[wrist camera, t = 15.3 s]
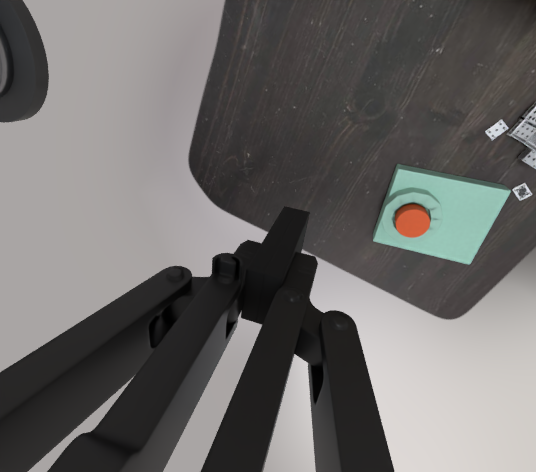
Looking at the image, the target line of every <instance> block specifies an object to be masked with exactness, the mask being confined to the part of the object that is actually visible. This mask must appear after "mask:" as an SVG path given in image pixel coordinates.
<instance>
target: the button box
mask: <svg viewBox="0 0 536 472" xmlns="http://www.w3.org/2000/svg"><path fill="white" fill-rule="evenodd" d="M510 192H511V191H510V190H509V189H508V188H507V187H506V186H505V185H502V184H497V183H492V182H487V181H482V180H477V179H472V178H467V177H462V176H457V175H451V174H446V173H441V172H436V171H431V170H426V169H421V168H416V167H411V166H406V165H401V164H397V165H396V168H395V171H394V174H393V177H392V180H391V183H390V186H389V189H388V191H387V194H386V197H385V200H384V203H383V206H382V209H381V212H380V215H379V218H378V221H377V223H376V226H375V229H374V232H373V241H374V242H379V243H383V244H387V245H391V246H395V247H399V248H403V249H407V250H411V251H416V252H420V253H424V254H428V255H432V256H436V257H440V258H444V259H448V260H452V261H457V262H461V263H465V264H469V265H470V263H471V262H472V260H473V258H474V256H475V254H476V253H477V251H478V249H479V247H480V246H481V244H482V242H483V240H484V238H485V237H486V235H487V233H488V231H489V230H490V228H491V226H492V224H493V222H494V221H495V219H496V217H497V215H498V214H499V212H500V210H501V208H502V206H503V205H504V203H505V201H506V199H507V198H508V196H509V194H510ZM408 204H417V205H420V206H422V207H423V208H425V210H426V211H427V213H428V216H429V218H430V226H429V229H428V230H427V231H426V232H425V233H424V234H423V235H421V236H419V237H414V238H409V237H405V236H403V235H401V234H400V233H399V232H398V231H397V229H396V224H395V215H396V213H397V211H398V210H399V209H400V208H401V207H403V206H405V205H408Z"/></svg>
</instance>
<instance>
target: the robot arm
mask: <svg viewBox="0 0 536 472" xmlns="http://www.w3.org/2000/svg"><path fill="white" fill-rule="evenodd" d="M13 75H14V65H13V58H12V53H11V49H10V46H9V43H8V40H7V38H6V35H5V33H4V31H3V29H2V27H1V25H0V97H1V96H3V95H5V94H6V93H7V92H8V90H9V89H10V87H11V85H12V81H13ZM309 214H310V212H307V211H302V210H298V209H294V208H290V207H285V206H284V208H283V210H282V211H281V213H280V214H279V216H278V218H277V219H276V221H275V223H274V224H273V226H272V228H271V229H270V231H269V233H268V234H267V236H266V237H265V239H264V241H263V242H262V243H258V242H254V241H250V240H247V241H245V242H243V243H242V244H240V246H239V247H238V248H237V250H236V252H235V253H234V254H230V253H221V254H218V255H216V256H215V257H213V260H212V274H211V276H210V277H192V274H191V271H190V270H189V269H187V268H185V267H182V266H172V267H168V268H166V269H164V270H162V271H160V272H159V273H157V274H156V275H154V276H152V277H151V278H149V279H148V280H146V281H145V282H143V283H141V284H140V285H138V286H137V287H135V288H133V289H132V290H130V291H129V292H127V293H125V294H124V295H122V296H121V297H119V298H118V299H116V300H115V301H113V302H111V303H110V304H108V305H107V306H105V307H103V308H102V309H100V310H99V311H97V312H95V313H94V314H92V315H91V316H89V317H87V318H86V319H84V320H83V321H81V322H80V323H78V324H76V325H75V326H73V327H72V328H70V329H68V330H67V331H65V332H64V333H62V334H60V335H59V336H57V337H56V338H54V339H53V340H51V341H49V342H48V343H46V344H45V345H43V346H41V347H40V348H38V349H37V350H35V351H33V352H32V353H30V354H29V355H27V356H26V357H24V358H23V359H21V360H19V361H18V362H16V363H14V364H13V365H11V366H10V367H8V368H6V369H5V370H3V371H2V372H0V472H27V471H29V470H30V469H31V468H32V467H33V466H34V465H35V464H36V463H37V462H39V461H40V460H41V459H42V458H43V457H44V456H45V455H46V454H47V453H49V452H50V451H51V450H52V449H53V448H54V447H55V446H56V445H58V444H59V443H60V442H61V441H62V440H63V439H64V438H65V437H66V436H68V435H69V434H70V433H71V432H72V431H73V430H74V429H75V428H77V426H79V425H80V424H81V423H82V422H83V421H84V420H85V419H87V417H89V416H90V415H91V414H92V413H93V412H94V411H96V410H97V409H98V408H99V407H100V406H101V405H102V404H103V403H104V402H105V401H107V400H108V399H109V398H110V397H111V396H112V395H113V394H115V393H116V392H117V391H118V390H119V389H120V388H121V387H122V386H123V385H125V384H126V383H127V382H128V381H129V380H130V379H131V378H132V377H133V376H134V378H133V379H132V380H131V382H130V383H129V384H128V386H127V387H126V388H125V390H124V391H123V392H122V394H121V395H120V396H119V398H118V399H117V400H116V402H115V403H114V404H113V406H112V407H111V408H110V410H109V411H108V412H107V414H106V415H105V416H104V418H103V419H102V420H101V421H100V423H99V424H98V425H97V427H96V428H95V429H94V430H92V431H91V432H88V433H83V434H81V435H79V436H78V437H76V438H75V439H74V440H73V441H72V442H71V443H70V444H69V445H68V446H67V448H66V449H65V450H64V451H63V452H62V454H61V455H60V456H59V458H58V459H57V460H56V461H55V463H54V464H53V465H52V466H51V468H50V469H49V470H48V471H47V472H163V470H164V468H165V466H166V464H167V463H168V460H169V459H170V456H171V455H172V453H173V451H174V449H175V447H176V445H177V443H178V441H179V439H180V437H181V435H182V433H183V431H184V429H185V427H186V425H187V423H188V421H189V419H190V417H191V415H192V413H193V411H194V409H195V407H196V405H197V403H198V402H199V400H200V397H201V396H202V394H203V392H204V390H205V388H206V386H207V384H208V382H209V380H210V378H211V376H212V374H213V372H214V370H215V368H216V366H217V364H218V362H219V360H220V358H221V356H222V354H223V352H224V350H225V348H226V346H227V344H228V343H229V341H230V339H231V337H232V334H233V333H234V331H235V329H236V327H237V323H238V316H239V314H240V312H241V311H242V313H241V318H243V319H246V320H250V321H253V322H256V323H259V324H262V327H261V330H260V332H259V334H258V337H257V339H256V341H255V344H254V346H253V349H252V351H251V353H250V356H249V358H248V361H247V363H246V365H245V368H244V370H243V372H242V375H241V377H240V380H239V382H238V384H237V387H236V389H235V391H234V394H233V396H232V399H231V401H230V403H229V406H228V408H227V410H226V413H225V415H224V418H223V420H222V422H221V425H220V427H219V430H218V432H217V434H216V437H215V439H214V441H213V444H212V446H211V449H210V451H209V453H208V456H207V458H206V460H205V463H204V465H203V468H202V470H201V472H263V469H264V465H265V462H266V458H267V454H268V450H269V446H270V442H271V439H272V435H273V431H274V428H275V424H276V420H277V417H278V413H279V409H280V406H281V402H282V398H283V394H284V391H285V387H286V383H287V379H288V376H289V372H290V368H291V364H292V361H293V357H294V354H296V355H297V356H299V357H300V358H302V359H303V360H305V361H306V362H308V373H309V386H310V400H311V413H312V425H313V440H314V453H315V466H316V472H394V468H393V464H392V460H391V457H390V453H389V449H388V445H387V441H386V438H385V434H384V430H383V426H382V422H381V419H380V415H379V411H378V407H377V404H376V400H375V396H374V392H373V389H372V384H371V380H370V377H369V373H368V369H367V365H366V362H365V358H364V354H363V350H362V346H361V342H360V339H359V335H358V331H357V327H356V324H355V322H354V321H353V319H352V318H351V317H350V316H349V315H347V314H345V313H343V312H340V311H328V312H325V313H323V312H321V311H319V310H318V309H316V308H315V307H314V306H313V305H312V303H311V302H310V298H309V296H310V292H311V288H312V285H313V281H314V277H315V273H316V269H317V265H318V263H317V260H316V257H314V256H310V255H307V254H303V253H301V251H302V246H303V242H304V237H305V232H306V228H307V223H308V218H309Z"/></svg>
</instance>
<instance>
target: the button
mask: <svg viewBox="0 0 536 472" xmlns="http://www.w3.org/2000/svg"><path fill="white" fill-rule="evenodd" d="M395 224H396V229H397V231H398V232H399V233H400V234H401V235H403V236H405V237H409V238H414V237H419V236H421V235H423V234H424V233H425V232H426V231H427V230H428V229H429V226H430V218H429V216H428V213H427V211H426V210H425V208H423V207H422V206H420V205H417V204H408V205H405V206H403V207H401V208H400V209H399V210H398V211H397V213H396V215H395Z"/></svg>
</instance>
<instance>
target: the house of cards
mask: <svg viewBox="0 0 536 472" xmlns="http://www.w3.org/2000/svg"><path fill="white" fill-rule="evenodd" d="M521 117H523V118H525V119H524V120H522V119H520V118H519V119H520V120H519V121H518V122H517V123H516V124H515V125H514V127H513V128H512V129H511V130H510V131H509V132H508V133H507V134H506V135H508V136H510V137H511V136H512V137H514V138H516V139H517V140H519V141H521V142H523V143H524V145H526V146H528V147H530V148H531V149H530V148H527V149H526V150H525V151H524V152H522V153H521V154H520V155H519V156H518V158H519V159H521V160H522V161H523V162H525V163H527V164H528V165H530V166H532V167H533V168H535V169H536V102H535V103H534V104H533V105H532V106H531V107H530V108H529V109H528V110H527V111H526V113H525V114H524V115H523V116H521ZM507 129H508V127H507V125H506V124H505V123H504V122H503V121H502V119H501V120H500V121H499V122H497V123H496V124H495V125H493V126H492V127H491V128H489V129H488V130H487V131H485V132H486V134H487V135H488V136H489V137H490V138H491V139H492V140H493V139H495V138H496V137H497V136H499V135H500V134H502V133H503V132H504V131H506V130H507ZM532 149H533V150H532ZM512 190H513V191H514V193H515V194H516V196H517V197H518V199H519V200H520V201H521V200H523V199H525V198H527V197H529V196H531V195H532V193H531V192H530V190H529V189H528V187H527V186H526V184H525V183H523V184H522V185H520V186H518V187H516V188H514V189H512Z"/></svg>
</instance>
